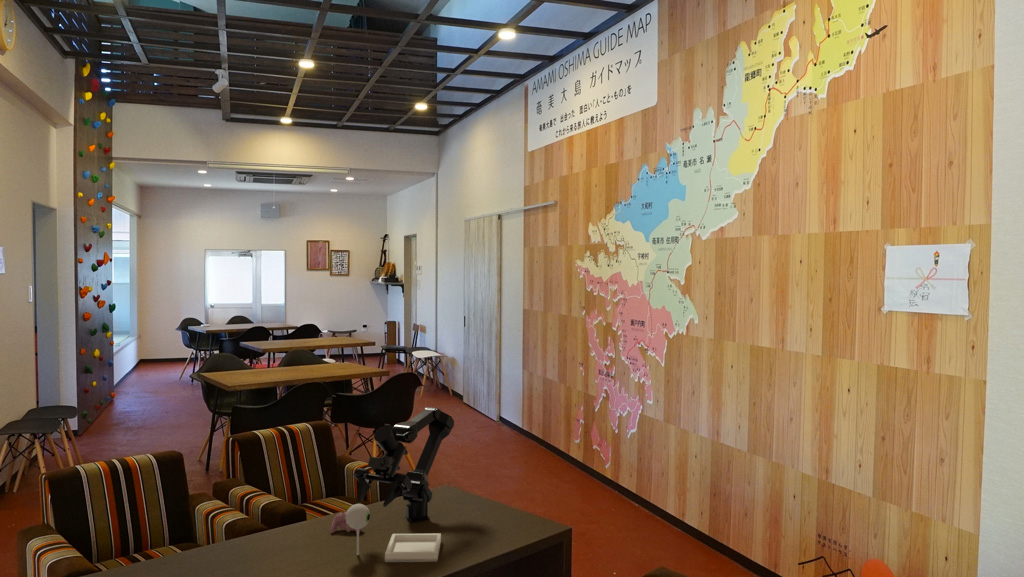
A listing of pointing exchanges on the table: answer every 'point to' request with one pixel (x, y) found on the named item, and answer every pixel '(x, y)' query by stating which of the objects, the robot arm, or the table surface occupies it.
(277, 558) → the table surface
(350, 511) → the lollipop
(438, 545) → the tray
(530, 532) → the table surface
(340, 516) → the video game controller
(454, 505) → the table surface
